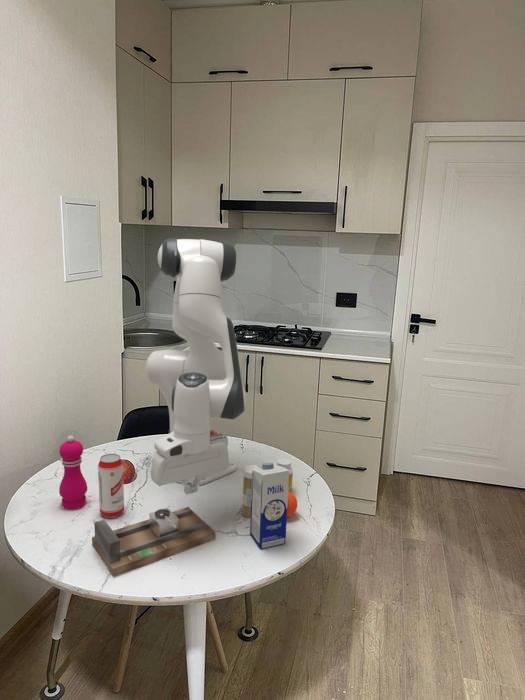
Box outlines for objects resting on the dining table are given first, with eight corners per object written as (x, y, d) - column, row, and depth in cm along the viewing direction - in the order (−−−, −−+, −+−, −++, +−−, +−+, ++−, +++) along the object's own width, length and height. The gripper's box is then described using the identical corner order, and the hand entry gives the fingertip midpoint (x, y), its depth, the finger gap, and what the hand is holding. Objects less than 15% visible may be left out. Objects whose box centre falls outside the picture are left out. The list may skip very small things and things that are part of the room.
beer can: (128, 509, 143) (127, 455, 139) (115, 521, 137) (113, 465, 133) (109, 505, 145) (107, 451, 141) (94, 516, 139) (92, 460, 135)
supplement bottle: (275, 496, 152) (276, 466, 150) (271, 487, 158) (273, 457, 155) (293, 495, 153) (295, 465, 151) (289, 486, 159) (290, 457, 156)
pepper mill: (79, 512, 140) (75, 442, 136) (54, 508, 142) (50, 439, 137) (93, 499, 147) (90, 432, 143) (69, 495, 149) (65, 429, 144)
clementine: (299, 524, 139) (300, 500, 137) (272, 525, 138) (273, 500, 136) (294, 508, 146) (296, 485, 145) (270, 508, 146) (271, 485, 144)
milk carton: (259, 549, 127) (262, 474, 123) (249, 534, 133) (251, 462, 129) (286, 543, 130) (290, 469, 125) (274, 529, 136) (278, 457, 131)
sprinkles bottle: (242, 509, 145) (243, 464, 142) (258, 509, 145) (260, 464, 142) (241, 518, 141) (242, 472, 137) (258, 518, 141) (260, 472, 137)
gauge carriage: (167, 521, 134) (167, 506, 133) (184, 539, 126) (184, 523, 125) (149, 527, 131) (149, 511, 130) (165, 546, 124) (165, 529, 123)
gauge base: (188, 513, 142) (188, 489, 140) (215, 539, 131) (215, 513, 129) (92, 544, 127) (91, 518, 125) (113, 576, 116) (112, 548, 114)
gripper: (221, 428, 137) (220, 477, 140) (147, 443, 125) (148, 497, 128) (234, 436, 132) (233, 487, 135) (159, 452, 120) (159, 508, 123)
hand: (191, 492), depth 131 cm, fingers closed
